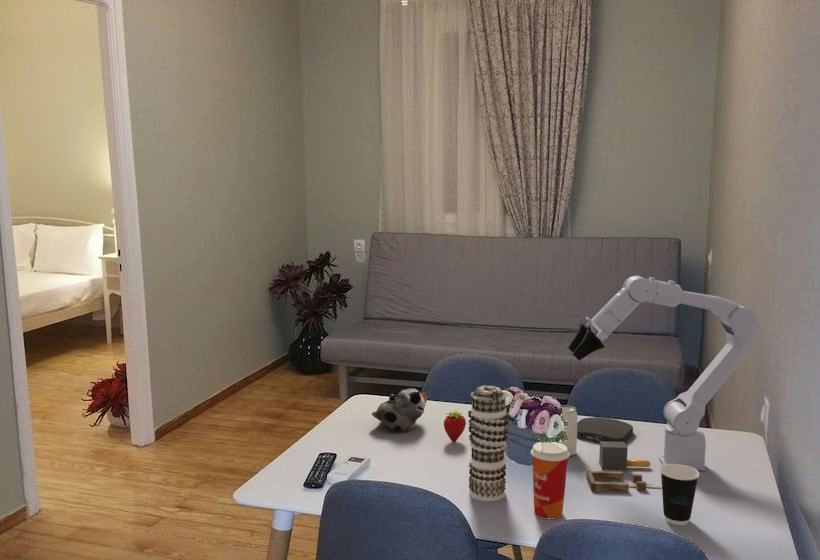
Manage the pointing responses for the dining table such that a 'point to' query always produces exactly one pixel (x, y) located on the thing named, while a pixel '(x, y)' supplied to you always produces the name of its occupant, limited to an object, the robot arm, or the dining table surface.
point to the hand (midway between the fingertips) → (573, 354)
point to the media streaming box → (603, 430)
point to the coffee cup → (549, 478)
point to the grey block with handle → (617, 457)
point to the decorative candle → (487, 443)
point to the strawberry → (454, 425)
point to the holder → (615, 487)
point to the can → (570, 428)
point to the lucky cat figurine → (402, 410)
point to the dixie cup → (678, 492)
